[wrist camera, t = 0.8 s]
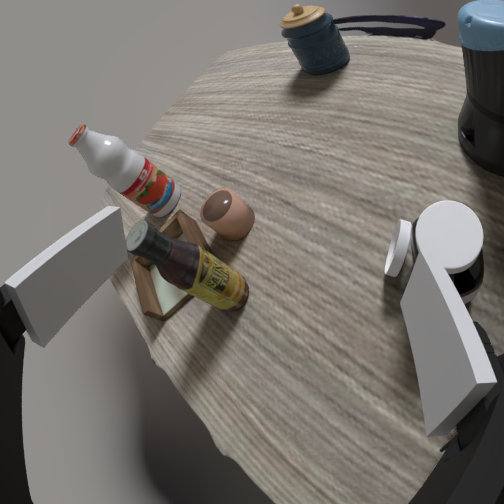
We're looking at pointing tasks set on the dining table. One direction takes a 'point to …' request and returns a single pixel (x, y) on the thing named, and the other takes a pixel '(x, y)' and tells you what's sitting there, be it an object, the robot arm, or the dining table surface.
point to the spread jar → (443, 244)
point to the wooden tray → (149, 279)
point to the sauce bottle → (189, 267)
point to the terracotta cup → (227, 214)
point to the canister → (314, 39)
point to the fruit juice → (127, 171)
